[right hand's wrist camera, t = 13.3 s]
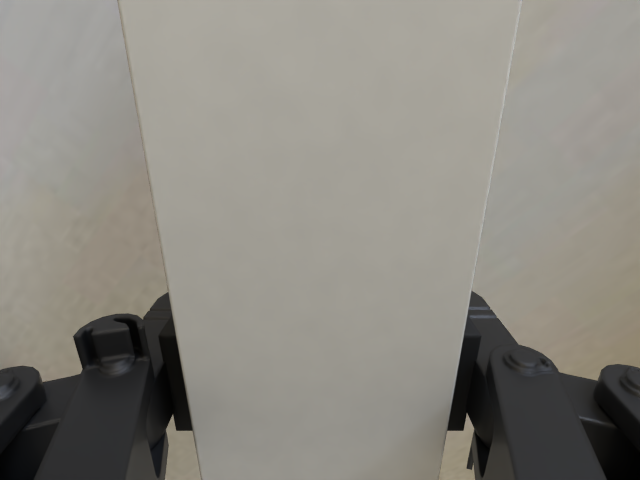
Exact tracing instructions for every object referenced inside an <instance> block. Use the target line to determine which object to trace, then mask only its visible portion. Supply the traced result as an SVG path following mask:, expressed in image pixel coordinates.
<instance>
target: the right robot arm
mask: <svg viewBox="0 0 640 480" xmlns="http://www.w3.org/2000/svg"><path fill="white" fill-rule="evenodd" d="M73 338H74V341H75V344H76V348H77V351H78V355H79V358H80V361H81V365H82V368H83V370H82V372H81V374H78V375H75V376H71V377H66V378H61V379H57V380H52V381H47V382H42V380H41V377H40V374H39V372H38V371H37V370H36V369H35V368H33V367H27V366H18V367H11V368H6V369H2V370H0V480H165V473H166V464H167V455H168V446H169V445H168V438H167V433H166V428H167V426H168V423H169V421H170V419H171V417H172V415H173V416H174V421H175V426H176V431H193V429H192V423H191V418H190V412H189V406H188V401H187V395H186V389H185V383H184V378H183V372H182V366H181V361H180V355H179V349H178V344H177V338H176V332H175V326H174V321H173V315H172V309H171V304H170V298H169V292H168V293H166V294H164V295H163V296H161V297H160V298H158V299H157V301H156V302H155V303H154V305H153V306H152V307H151V308H150V311H148V312H147V314H146V315H145V316H144V319H143V320H142V319H141V318H140V317H139V316H137V315H132V314H114V315H110V316H105V317H102V318H99V319H97V320H94V321H92V322H90V323H88V324H87V325H85V326H83V327H82V328H80V329H79V330H78V331H77V333H76V334H75V335H74V336H73ZM467 413H468V415H469V418H470V420H471V422H472V424H473V426H474V433H473V438H472V443H471V448H470V452H469V457H468V463H467V469H471V470H472V466H473V463H474V472H475V480H640V368H638V367H633V366H628V365H620V364H615V365H608V366H606V367H605V368H603V369H602V370H601V373H600V376H599V379H598V381H596V380H591V379H587V378H582V377H577V376H572V375H567V374H564V373H560V372H559V371H558V369H557V368H556V366H555V365H554V363H553V362H552V361H551V360H550V359H549V358H547V357H546V356H545V355H543V354H542V353H540V352H538V351H536V350H534V349H531V348H529V347H525V346H521V345H518V343H517V342H516V341H515V339H514V338H513V337H512V336H511V334H510V333H509V332H508V330H507V329H506V328H505V326H504V325H503V324H502V323H501V321H500V320H499V319H498V318H496V315H495V314H494V312H493V311H492V310H490V307H489V306H488V305H487V303H486V302H485V301H484V299H483V298H482V297H481V296H479V295H477V294H476V293H474V292H473V291H471V296H470V302H469V308H468V314H467V319H466V325H465V331H464V336H463V342H462V348H461V353H460V359H459V365H458V371H457V376H456V382H455V388H454V393H453V399H452V405H451V411H450V416H449V422H448V428H447V431H463V430H464V425H465V419H466V414H467Z"/></svg>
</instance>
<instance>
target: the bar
mask: <svg viewBox="0 0 640 480" xmlns="http://www.w3.org/2000/svg"><path fill="white" fill-rule="evenodd" d="M117 1H118V7H119V13H120V18H121V24H122V30H123V35H124V41H125V47H126V52H127V58H128V64H129V70H130V75H131V81H132V87H133V92H134V98H135V104H136V110H137V115H138V121H139V127H140V132H141V138H142V144H143V150H144V155H145V161H146V167H147V172H148V178H149V184H150V189H151V195H152V201H153V207H154V212H155V218H156V224H157V229H158V235H159V241H160V247H161V252H162V258H163V264H164V269H165V275H166V281H167V286H168V292H169V298H170V304H171V309H172V315H173V321H174V326H175V332H176V338H177V344H178V349H179V355H180V361H181V366H182V372H183V378H184V383H185V389H186V395H187V401H188V406H189V412H190V418H191V423H192V429H193V435H194V441H195V446H196V452H197V458H198V463H199V469H200V475H201V480H438V479H439V473H440V468H441V462H442V456H443V451H444V445H445V439H446V433H447V428H448V422H449V416H450V411H451V405H452V399H453V393H454V388H455V382H456V376H457V371H458V365H459V359H460V353H461V348H462V342H463V336H464V331H465V325H466V319H467V314H468V308H469V302H470V296H471V291H472V285H473V279H474V274H475V268H476V262H477V256H478V251H479V245H480V239H481V234H482V228H483V222H484V216H485V211H486V205H487V199H488V194H489V188H490V182H491V176H492V171H493V165H494V159H495V154H496V148H497V142H498V136H499V131H500V125H501V119H502V114H503V108H504V102H505V97H506V91H507V85H508V79H509V74H510V68H511V62H512V57H513V51H514V45H515V39H516V34H517V28H518V22H519V17H520V11H521V5H522V0H117Z"/></svg>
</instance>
